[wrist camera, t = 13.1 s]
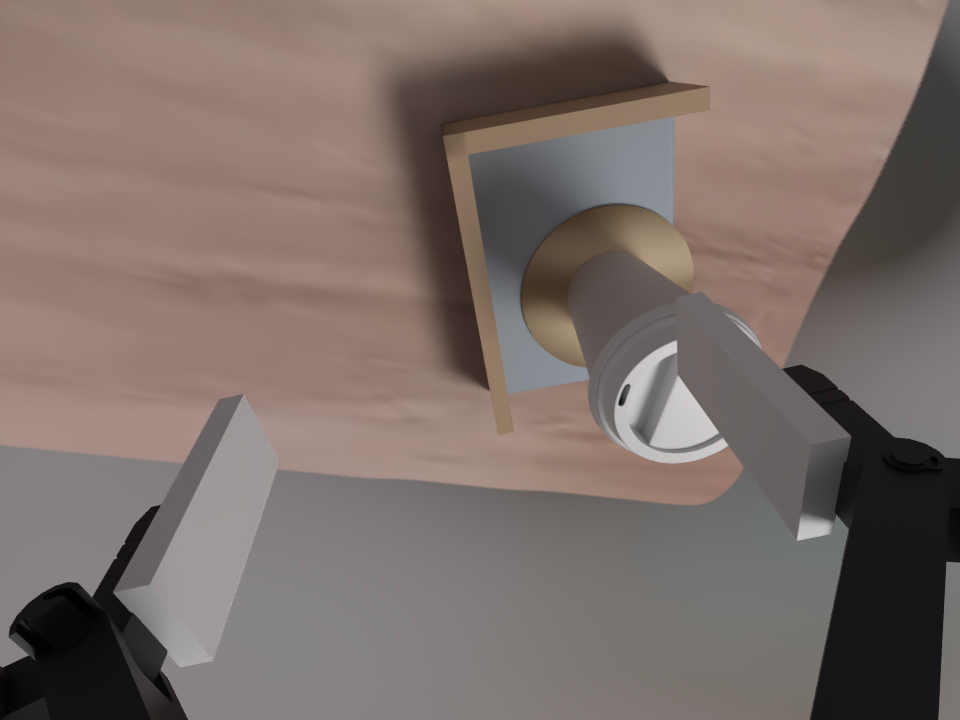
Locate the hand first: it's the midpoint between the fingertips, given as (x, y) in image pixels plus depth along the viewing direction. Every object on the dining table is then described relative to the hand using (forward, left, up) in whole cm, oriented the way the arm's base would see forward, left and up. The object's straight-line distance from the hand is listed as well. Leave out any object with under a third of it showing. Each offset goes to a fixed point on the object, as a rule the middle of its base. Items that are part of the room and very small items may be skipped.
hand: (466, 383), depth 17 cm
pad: (+9, +10, -24) cm, 28 cm away
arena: (+6, +8, -25) cm, 27 cm away
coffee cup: (+9, +11, -24) cm, 27 cm away
